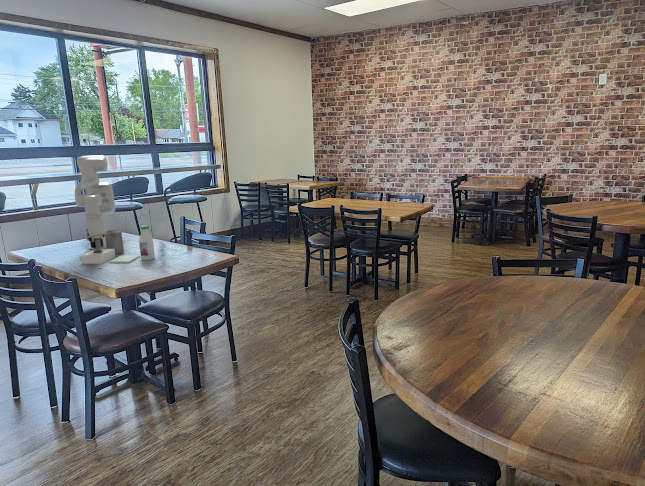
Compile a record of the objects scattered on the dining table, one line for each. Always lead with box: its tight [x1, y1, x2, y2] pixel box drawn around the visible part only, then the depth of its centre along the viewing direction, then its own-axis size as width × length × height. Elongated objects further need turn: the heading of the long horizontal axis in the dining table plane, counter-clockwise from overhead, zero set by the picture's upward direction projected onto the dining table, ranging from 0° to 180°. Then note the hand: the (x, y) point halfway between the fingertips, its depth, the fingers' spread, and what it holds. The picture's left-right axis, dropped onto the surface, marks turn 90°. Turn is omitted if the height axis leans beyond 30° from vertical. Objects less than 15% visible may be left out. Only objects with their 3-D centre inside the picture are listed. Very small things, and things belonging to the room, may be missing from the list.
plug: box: [91, 235, 102, 253], centre depth 268 cm, size 6×6×13 cm
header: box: [80, 248, 117, 265], centre depth 269 cm, size 16×12×5 cm
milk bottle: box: [138, 224, 156, 261], centre depth 268 cm, size 8×8×20 cm
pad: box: [108, 254, 141, 264], centre depth 269 cm, size 14×12×1 cm
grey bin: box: [105, 229, 125, 255], centre depth 286 cm, size 10×10×15 cm
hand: (97, 246), depth 268 cm, fingers closed on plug, 4 cm apart
